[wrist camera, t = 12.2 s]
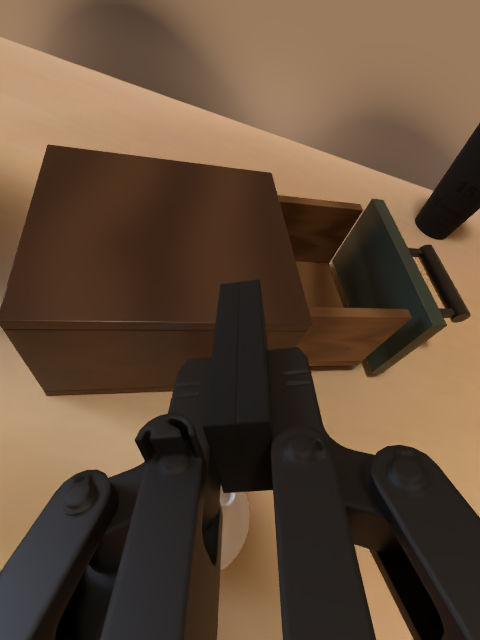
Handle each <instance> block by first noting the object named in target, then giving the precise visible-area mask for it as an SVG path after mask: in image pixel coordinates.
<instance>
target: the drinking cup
mask: <svg viewBox="0 0 480 640" xmlns="http://www.w3.org/2000/svg"><path fill="white" fill-rule="evenodd" d="M478 209H480V123H479V125H478V126H477V128H476V129H475V131H474V132H473V134H472V135H471V137H470V138H469V140H468V141H467V143H466V144H465V146H464V147H463V149H462V150H461V152H460V153H459V155H458V156H457V157H456V159H455V161H454V162H453V163H452V165H451V166H450V168H449V170H448V171H447V172H446V174H445V175H444V177H443V178H442V180H441V181H440V183H439V184H438V186H437V187H436V189H435V190H434V192H433V193H432V195H431V196H430V198H429V199H428V200H427V202H426V203H425V205H424V206H423V208H422V209H421V211H420V212H419V214H418V215H417V217H416V220H415V221H416V224H417V226H418V228H419V229H420V230H421V231H422V232H423V233H425V234H426V235H428V236H430V237H432V238H435V239H444V238H446V237H447V236H448V235H450V234H451V233H452V232H453V231H454V230H455V229H457V228H458V227H459V226H460V225H461V224H462V223H463V222H465V221H466V220H467V219H468V218H469V217H470V216H472V215H473V214H474V213H475V212H476V211H477V210H478Z"/></svg>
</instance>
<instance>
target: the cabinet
mask: <svg viewBox="0 0 480 640" xmlns="http://www.w3.org/2000/svg"><path fill="white" fill-rule="evenodd" d="M258 279H260V285H261V293H262V300H263V308H264V316H265V324H266V332H267V340H268V350H275V349H285V348H294V347H296V346H297V345H298V343H299V342H300V341H301V339H302V338H303V337H304V335H305V334H306V333H307V331H308V330H309V329H310V327H311V326H312V324H313V323H312V320H311V316H310V312H309V309H308V305H307V301H306V298H305V294H304V290H303V287H302V283H301V279H300V276H299V272H298V268H297V265H296V261H295V257H294V254H293V250H292V246H291V243H290V239H289V235H288V232H287V228H286V224H285V221H284V217H283V213H282V210H281V206H280V202H279V199H278V195H277V191H276V188H275V184H274V180H273V177H272V173H268V172H260V171H252V170H244V169H236V168H228V167H220V166H213V165H205V164H197V163H189V162H181V161H173V160H165V159H157V158H149V157H142V156H134V155H126V154H118V153H110V152H102V151H94V150H86V149H78V148H71V147H63V146H55V145H47V148H46V152H45V155H44V159H43V162H42V166H41V169H40V173H39V176H38V180H37V183H36V187H35V190H34V194H33V197H32V200H31V204H30V207H29V211H28V214H27V218H26V221H25V225H24V228H23V232H22V235H21V239H20V242H19V246H18V249H17V253H16V256H15V260H14V263H13V266H12V270H11V273H10V277H9V280H8V284H7V287H6V291H5V294H4V298H3V301H2V305H1V308H0V326H1V328H2V329H3V331H4V332H5V333H6V335H7V336H8V338H9V339H10V341H11V342H12V344H13V345H14V347H15V348H16V350H17V351H18V353H19V354H20V356H21V357H22V359H23V360H24V362H25V363H26V365H27V366H28V368H29V369H30V371H31V372H32V374H33V375H34V377H35V378H36V380H37V381H38V383H39V384H40V386H41V387H42V389H43V390H44V392H45V394H46V395H47V396H49V395H76V394H103V393H129V392H156V391H173V390H174V387H175V382H176V377H177V373H178V371H179V370H180V368H181V367H182V366H183V364H184V363H185V362H186V360H190V359H199V358H209V357H211V354H212V347H213V339H214V331H215V323H216V315H217V307H218V299H219V291H220V284H226V283H234V282H242V281H250V280H258Z"/></svg>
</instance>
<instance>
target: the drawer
mask: <svg viewBox="0 0 480 640" xmlns="http://www.w3.org/2000/svg"><path fill="white" fill-rule="evenodd" d="M278 199H279V202H280V206H281V210H282V213H283V217H284V221H285V224H286V228H287V232H288V235H289V239H290V243H291V246H292V250H293V254H294V257H295V261H296V265H297V268H298V272H299V276H300V279H301V283H302V287H303V290H304V294H305V298H306V301H307V305H308V309H309V312H310V316H311V320H312V323H313V324H312V326H311V327H310V329H309V330H308V331H307V333H306V334H305V335H304V337H303V338H302V339H301V341H300V342H299V343H298V345H297V346H296V347H299V349H300V350H301V351H302V352H303V353H304V354H305V355H306V356H307V357H308V362H309V366H331V365H358V364H359V363H360V362H361V361H362V360H364V359H365V358H366V360H367V363H368V366H369V368H370V371H371V373H383V372H384V371H386V370H387V369H389V368H390V367H391V366H393V365H394V364H395V363H397V362H398V361H399V360H401V359H402V358H404V357H405V356H406V355H408V354H409V353H410V352H412V351H413V350H414V349H416V348H417V347H418V346H420V345H421V344H423V343H424V342H425V341H427V340H428V339H429V338H431V337H432V336H433V335H435V334H436V333H437V332H439V331H440V330H442V329H443V328H444V327H446V326H447V324H446V322H445V320H444V318H450V319H451V321H452V322H454V323H457V322H461V321H464V320H466V319H468V318H469V317H470V312H469V311H468V309H467V307H466V305H465V304H464V302H463V300H462V298H461V296H460V295H459V293H458V291H457V289H456V288H455V286H454V284H453V282H452V280H451V279H450V277H449V275H448V273H447V272H446V270H445V268H444V266H443V264H442V263H441V261H440V259H439V257H438V256H437V254H436V252H435V250H434V248H433V247H432V245H424V246H422V247H420V248H419V249H414V248H408V247H407V246H406V244H405V242H404V240H403V238H402V236H401V234H400V232H399V230H398V228H397V226H396V224H395V222H394V220H393V218H392V216H391V214H390V212H389V210H388V208H387V206H386V204H385V202H384V200H378V199H372V200H371V201H370V203H369V204H368V206H367V208H366V209H365V211H364V212H363V214H362V215H361V217H360V218H359V220H358V221H357V223H356V225H355V226H354V228H353V229H352V231H351V232H350V234H349V235H348V237H347V238H346V236H347V234H348V233H349V231H350V230H351V228H352V227H353V225H354V224H355V222H356V220H357V219H358V217H359V216H360V214H361V213H362V211H363V209H362V207H361V205H360V204H353V203H344V202H334V201H325V200H316V199H307V198H298V197H289V196H280V195H278ZM345 238H346V240H345V242H344V243H343V245H342V246H341V248H340V249H339V251H338V252H337V250H338V248H339V247H340V245H341V244H342V242H343V241H344V239H345ZM336 252H337V254H336V255H335V253H336ZM334 255H335V257H334V259H333V260H332V262H333V265H334V267H335V270H336V273H337V276H338V279H339V282H340V285H341V288H342V291H343V293H344V296H345V299H346V302H347V305H348V308H343V305H342V302H341V299H340V296H339V293H338V290H337V287H336V284H335V281H334V278H333V275H332V272H331V269H330V266H329V262H330V261H331V259H332V258H333V256H334ZM413 257H418V258H419V260H420V262H421V263H422V265H423V267H424V269H425V271H426V273H427V275H428V277H429V279H430V281H431V283H432V285H433V286H434V288H435V290H436V292H437V294H438V296H439V298H440V300H441V302H442V304H443V306H444V308H445V309H442V308H438V306H437V304H436V302H435V300H434V298H433V297H432V295H431V293H430V291H429V289H428V287H427V285H426V283H425V281H424V279H423V277H422V275H421V273H420V271H419V269H418V267H417V265H416V263H415V261H414V259H413Z"/></svg>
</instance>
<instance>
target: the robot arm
mask: <svg viewBox="0 0 480 640" xmlns="http://www.w3.org/2000/svg"><path fill="white" fill-rule="evenodd" d="M172 396H173V398H172V399H171V403H170V407H169V411H168V414H165V415H161V416H158V417H156V418H154V419H153V420H151V421H149V422H148V423H147V424H146V425H145V426H144V427H143V428H142V429H141V430H140V431H139V433H138V435H137V437H136V439H135V442H136V444H137V446H138V448H139V450H140V452H141V454H142V456H143V458H144V460H145V462H144V463H142V464H141V465H139V466H137V467H135V468H133V469H131V470H128V471H125V472H123V473H120V474H118V475H115V476H112V477H110V478H108V477H107V475H106V474H105V473H103V472H101V471H99V470H86V471H83V472H80V473H78V474H75V475H74V476H72V477H71V478H70V479H68V480H67V481H65V482H64V483H63V484H62V485H61V486H60V488H59V489H58V490H57V491H56V492H55V493H54V495H53V496H52V498H51V499H50V501H49V502H48V504H47V505H46V506H45V508H44V509H43V511H42V512H41V514H40V515H39V517H38V518H37V520H36V521H35V522H34V524H33V525H32V527H31V528H30V530H29V531H28V533H27V534H26V536H25V537H24V538H23V540H22V541H21V543H20V544H19V546H18V547H17V549H16V550H15V552H14V553H13V554H12V556H11V557H10V559H9V560H8V562H7V563H6V565H5V566H4V568H3V569H2V570H1V572H0V640H217V628H218V607H219V587H220V567H221V547H222V526H223V514H222V507H221V504H220V489H221V486H222V490H223V493H235V492H250V491H264V490H273V495H274V510H275V525H276V541H277V556H278V571H279V587H280V602H281V617H282V632H283V640H376V637H375V633H374V629H373V624H372V620H371V616H370V611H369V607H368V603H367V599H366V594H365V590H364V586H363V581H362V577H361V573H360V569H359V564H358V560H357V556H356V551H355V547H354V544H355V545H358V546H362V547H365V548H368V549H369V550H370V552H371V554H372V556H373V558H374V560H375V562H376V564H377V566H378V568H379V570H380V572H381V574H382V576H383V578H384V580H385V582H386V584H387V586H388V588H389V590H390V592H391V595H392V597H393V599H394V601H395V603H396V605H397V607H398V609H399V611H400V613H401V615H402V617H403V619H404V621H405V623H406V625H407V627H408V629H409V631H410V633H411V635H412V637H413V639H414V640H480V518H479V516H478V515H477V514H476V513H475V511H474V510H473V509H472V508H471V506H470V505H469V504H468V503H467V501H466V500H465V499H464V498H463V496H462V495H461V494H460V493H459V491H458V490H457V489H456V488H455V486H454V485H453V484H452V483H451V481H450V480H449V479H448V478H447V476H446V475H445V474H444V473H443V471H442V470H441V469H440V467H439V466H438V465H437V464H436V463H435V462H434V461H433V460H432V459H431V458H430V457H429V456H427V455H426V454H425V453H423V452H421V451H419V450H417V449H415V448H412V447H407V446H402V445H395V446H387V447H385V448H383V449H382V450H380V451H378V452H377V453H376V455H372V454H368V453H363V452H358V451H354V450H351V449H348V448H345V447H343V446H341V445H339V444H338V443H336V442H335V441H334V440H333V439H332V438H330V437H329V435H328V434H327V432H326V431H325V429H324V426H323V423H322V419H321V415H320V410H319V406H318V401H317V397H316V393H315V388H314V384H313V379H312V375H311V371H310V366H309V362H308V357H307V356H306V355H305V354H304V353H303V352H302V351H301V350H300V349H299V347H294V348H285V349H275V350H268V340H267V332H266V324H265V316H264V308H263V300H262V293H261V285H260V279H258V280H250V281H242V282H234V283H226V284H220V291H219V299H218V307H217V315H216V323H215V331H214V339H213V347H212V354H211V357H209V358H199V359H190V360H186V362H185V363H184V364H183V366H182V367H181V368H180V370H179V371H178V373H177V377H176V382H175V387H174V390H173V394H172Z"/></svg>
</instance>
